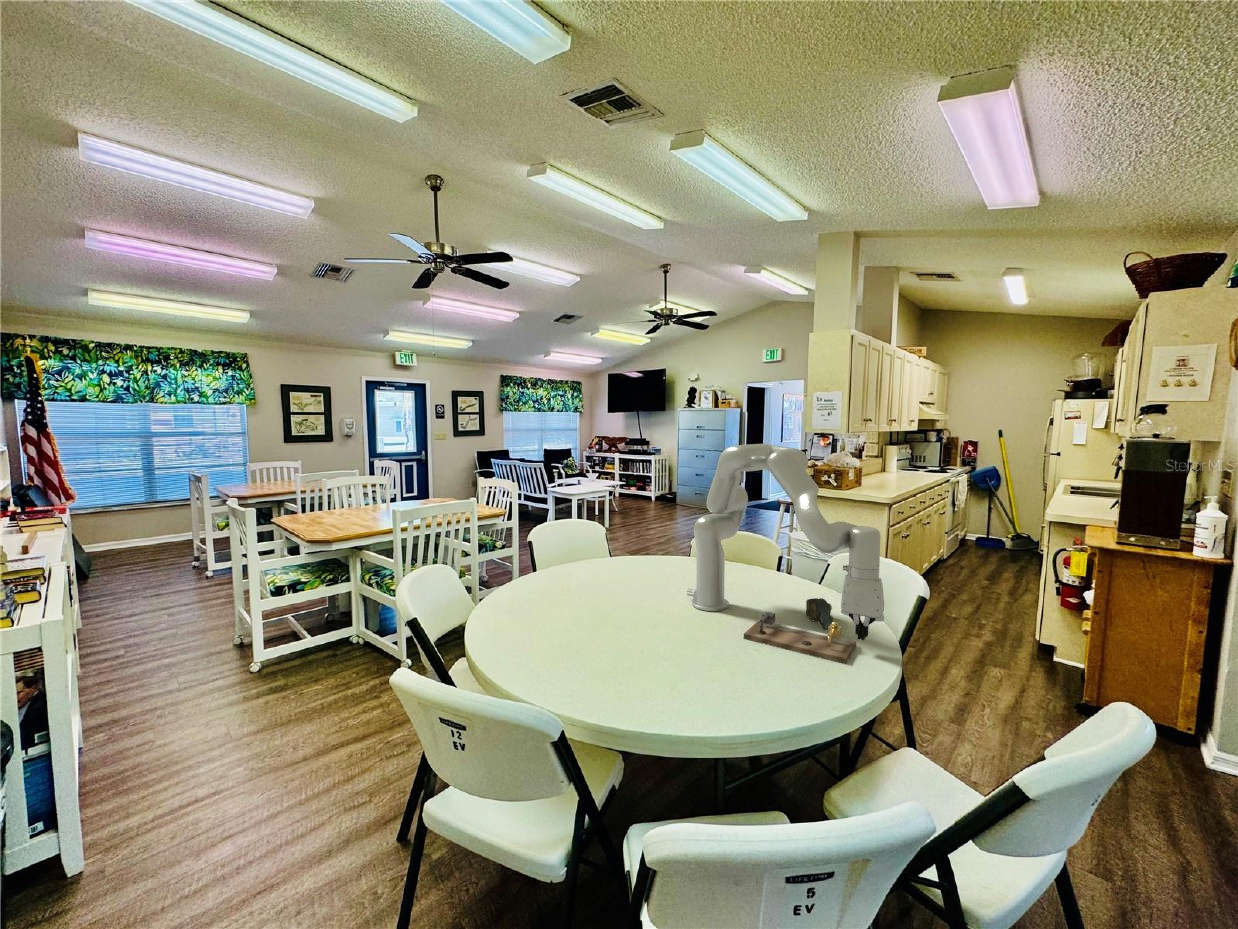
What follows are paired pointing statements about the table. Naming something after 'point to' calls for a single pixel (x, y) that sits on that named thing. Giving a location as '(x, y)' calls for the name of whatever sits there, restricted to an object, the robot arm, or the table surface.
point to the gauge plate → (799, 639)
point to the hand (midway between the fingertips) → (861, 638)
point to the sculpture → (819, 612)
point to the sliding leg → (834, 632)
